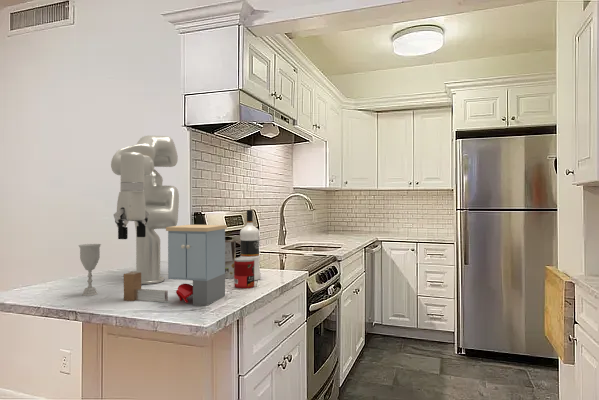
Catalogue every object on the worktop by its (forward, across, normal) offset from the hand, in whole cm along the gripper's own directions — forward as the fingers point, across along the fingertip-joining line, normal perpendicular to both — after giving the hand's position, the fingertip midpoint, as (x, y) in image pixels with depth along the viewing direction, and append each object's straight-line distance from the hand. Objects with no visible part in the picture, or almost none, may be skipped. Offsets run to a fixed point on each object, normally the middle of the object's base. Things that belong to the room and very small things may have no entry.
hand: (132, 238), depth 137 cm
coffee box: (+21, -47, +15) cm, 53 cm away
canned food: (+21, -29, +30) cm, 46 cm away
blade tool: (+21, -1, +5) cm, 22 cm away
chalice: (+21, -4, -20) cm, 30 cm away
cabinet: (+21, -6, +22) cm, 31 cm away
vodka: (+21, -43, +27) cm, 55 cm away
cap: (+22, -3, +19) cm, 29 cm away
